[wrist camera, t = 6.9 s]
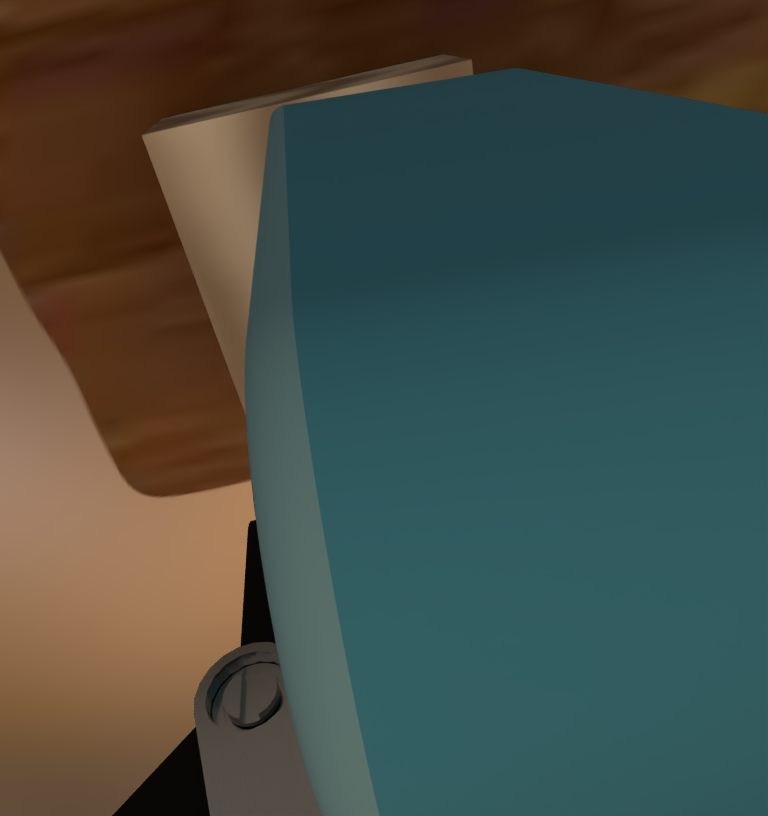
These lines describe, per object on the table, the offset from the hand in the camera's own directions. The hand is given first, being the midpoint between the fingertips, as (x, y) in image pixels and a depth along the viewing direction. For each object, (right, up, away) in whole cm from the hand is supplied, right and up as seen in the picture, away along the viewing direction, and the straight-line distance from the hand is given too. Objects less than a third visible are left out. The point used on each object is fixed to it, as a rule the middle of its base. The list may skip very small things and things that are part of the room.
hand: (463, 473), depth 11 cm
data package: (-1, +2, +4) cm, 5 cm away
